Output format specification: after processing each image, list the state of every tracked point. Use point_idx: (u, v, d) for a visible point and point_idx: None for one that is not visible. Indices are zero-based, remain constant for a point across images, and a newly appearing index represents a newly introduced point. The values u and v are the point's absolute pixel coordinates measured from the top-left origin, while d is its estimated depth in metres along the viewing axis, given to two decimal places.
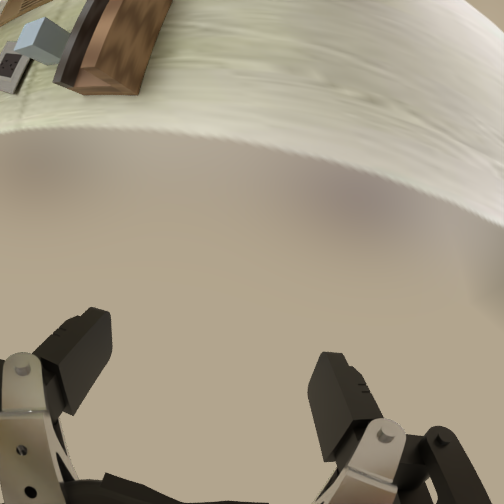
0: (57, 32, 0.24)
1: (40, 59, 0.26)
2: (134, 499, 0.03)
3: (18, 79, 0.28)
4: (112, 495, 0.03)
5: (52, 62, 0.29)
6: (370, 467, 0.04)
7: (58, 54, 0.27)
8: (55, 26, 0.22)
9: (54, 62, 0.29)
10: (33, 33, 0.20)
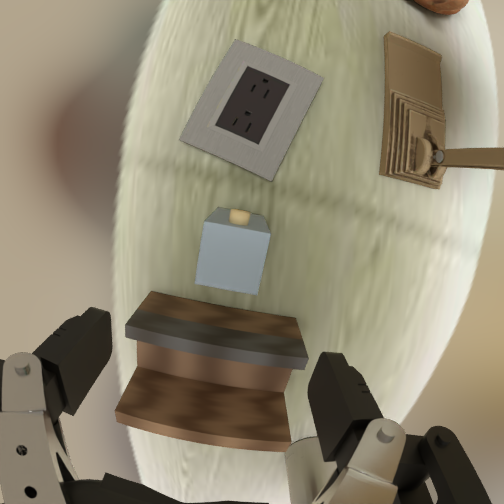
0: None
1: None
2: (133, 499, 0.03)
3: (204, 148, 0.27)
4: (112, 495, 0.03)
5: None
6: (370, 467, 0.04)
7: None
8: None
9: None
10: (224, 276, 0.22)
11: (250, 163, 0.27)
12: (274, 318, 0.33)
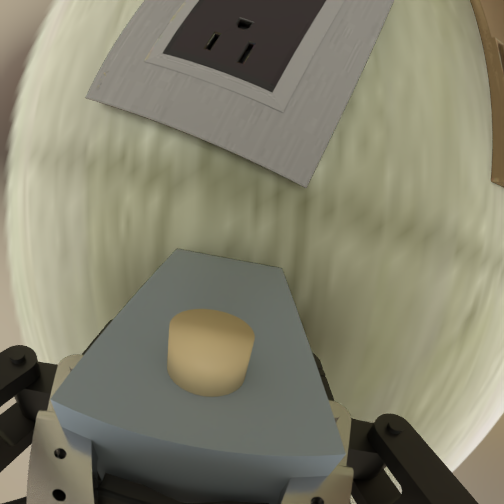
0: None
1: None
2: (133, 499, 0.03)
3: (135, 109, 0.10)
4: (112, 495, 0.03)
5: None
6: None
7: None
8: None
9: None
10: None
11: (252, 141, 0.10)
12: None
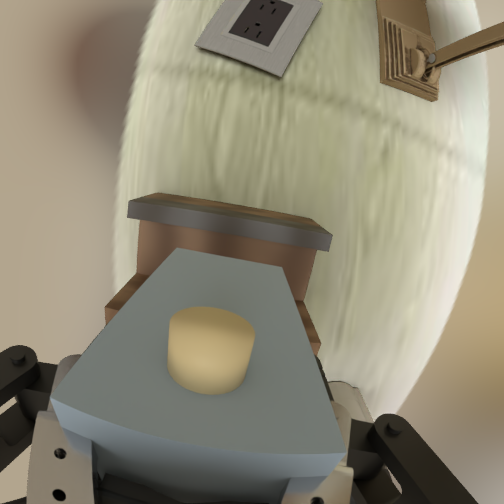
0: None
1: None
2: (133, 500, 0.03)
3: (217, 51, 0.25)
4: (112, 495, 0.03)
5: None
6: None
7: None
8: None
9: None
10: None
11: (261, 62, 0.25)
12: (288, 215, 0.31)
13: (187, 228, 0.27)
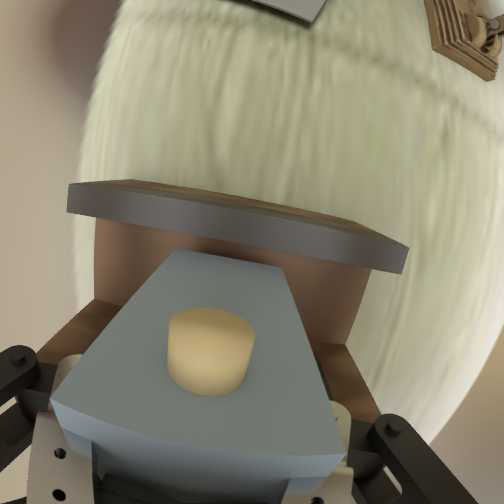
0: None
1: None
2: (133, 499, 0.03)
3: None
4: (112, 495, 0.03)
5: None
6: None
7: None
8: None
9: None
10: None
11: (284, 3, 0.15)
12: (325, 215, 0.20)
13: (167, 231, 0.16)
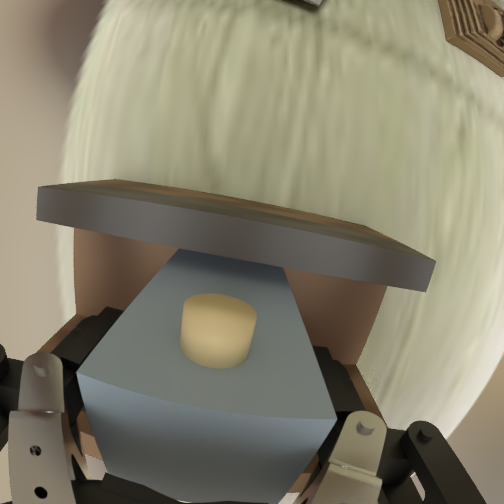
0: None
1: None
2: (133, 499, 0.03)
3: None
4: (112, 495, 0.03)
5: None
6: (346, 458, 0.05)
7: None
8: None
9: None
10: (182, 488, 0.05)
11: None
12: (334, 220, 0.18)
13: None
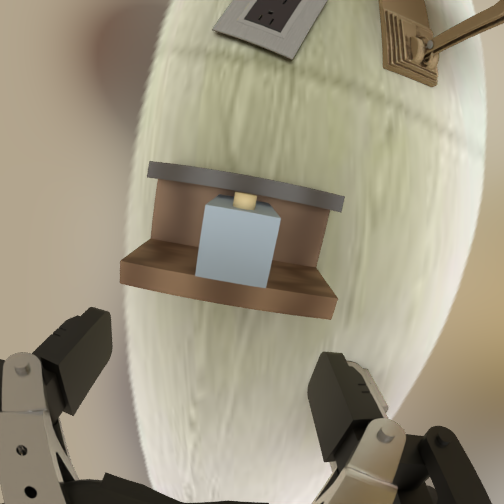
0: None
1: None
2: (133, 500, 0.03)
3: (234, 35, 0.26)
4: (112, 495, 0.03)
5: None
6: (370, 467, 0.04)
7: None
8: None
9: None
10: (229, 266, 0.19)
11: (274, 46, 0.26)
12: None
13: (204, 192, 0.27)
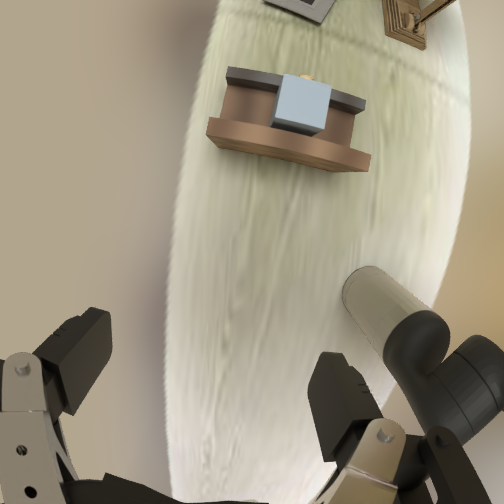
0: (304, 133, 0.30)
1: (275, 98, 0.30)
2: (133, 500, 0.03)
3: (278, 4, 0.31)
4: (112, 495, 0.03)
5: (272, 111, 0.33)
6: (370, 467, 0.04)
7: None
8: (312, 133, 0.28)
9: (271, 115, 0.33)
10: (299, 112, 0.25)
11: (307, 13, 0.32)
12: None
13: (263, 97, 0.33)
